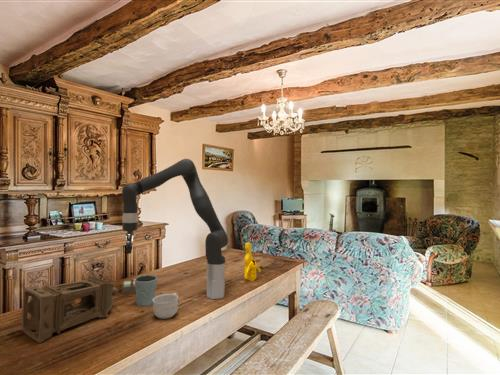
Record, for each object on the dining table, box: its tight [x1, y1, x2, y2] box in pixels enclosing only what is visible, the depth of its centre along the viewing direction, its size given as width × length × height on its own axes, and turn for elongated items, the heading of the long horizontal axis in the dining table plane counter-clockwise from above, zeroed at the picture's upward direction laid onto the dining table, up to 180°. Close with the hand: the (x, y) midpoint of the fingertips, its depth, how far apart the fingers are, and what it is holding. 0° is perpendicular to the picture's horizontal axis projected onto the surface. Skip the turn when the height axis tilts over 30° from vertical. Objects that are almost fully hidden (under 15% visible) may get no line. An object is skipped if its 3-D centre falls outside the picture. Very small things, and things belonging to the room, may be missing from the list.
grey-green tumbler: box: [134, 274, 158, 307], centre depth 144 cm, size 10×10×12 cm
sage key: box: [124, 281, 131, 287], centre depth 159 cm, size 5×3×2 cm
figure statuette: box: [243, 242, 262, 282], centre depth 182 cm, size 18×8×22 cm, turn 147°
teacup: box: [152, 292, 179, 320], centre depth 132 cm, size 14×11×8 cm
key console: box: [121, 277, 136, 294], centre depth 163 cm, size 12×14×4 cm
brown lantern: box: [21, 274, 119, 344], centre depth 125 cm, size 35×18×18 cm, turn 145°
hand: (129, 251), depth 160 cm, fingers open, 8 cm apart
